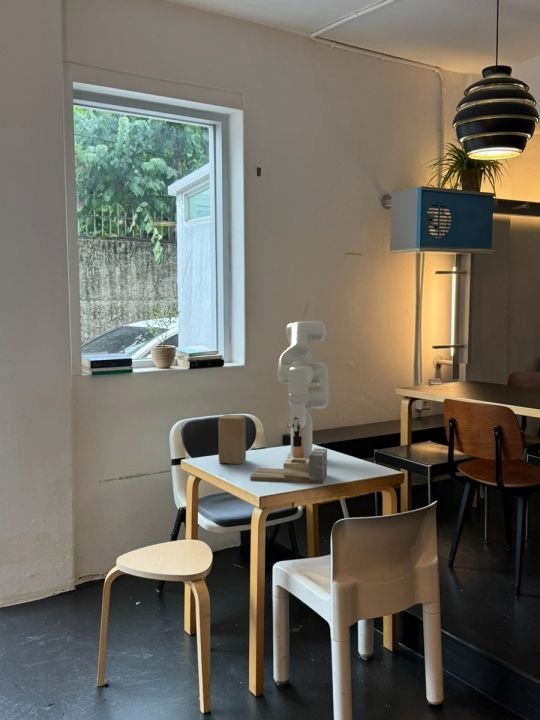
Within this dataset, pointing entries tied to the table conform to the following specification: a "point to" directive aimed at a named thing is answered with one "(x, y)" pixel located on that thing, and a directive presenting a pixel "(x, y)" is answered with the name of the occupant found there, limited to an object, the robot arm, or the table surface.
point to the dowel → (299, 451)
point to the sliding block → (296, 467)
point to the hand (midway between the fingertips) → (298, 444)
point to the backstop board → (315, 476)
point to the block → (232, 439)
